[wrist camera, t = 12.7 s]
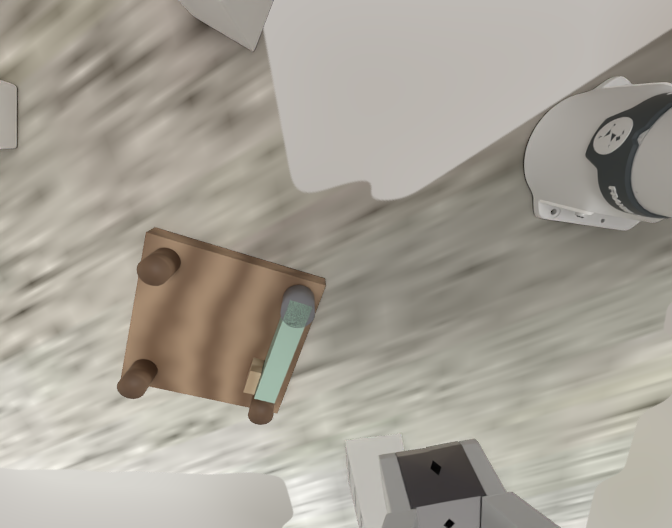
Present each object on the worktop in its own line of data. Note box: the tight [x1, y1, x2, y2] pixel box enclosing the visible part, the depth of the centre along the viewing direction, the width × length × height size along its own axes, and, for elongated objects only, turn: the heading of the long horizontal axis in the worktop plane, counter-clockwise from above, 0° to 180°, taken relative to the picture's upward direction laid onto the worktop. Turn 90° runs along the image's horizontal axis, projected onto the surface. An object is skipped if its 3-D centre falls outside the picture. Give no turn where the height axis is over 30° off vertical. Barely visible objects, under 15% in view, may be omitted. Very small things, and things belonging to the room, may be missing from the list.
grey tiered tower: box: [345, 433, 404, 528], centre depth 53 cm, size 10×10×20 cm
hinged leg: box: [254, 285, 315, 403], centre depth 46 cm, size 17×4×4 cm, turn 159°
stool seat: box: [117, 228, 326, 425], centre depth 46 cm, size 24×24×6 cm
